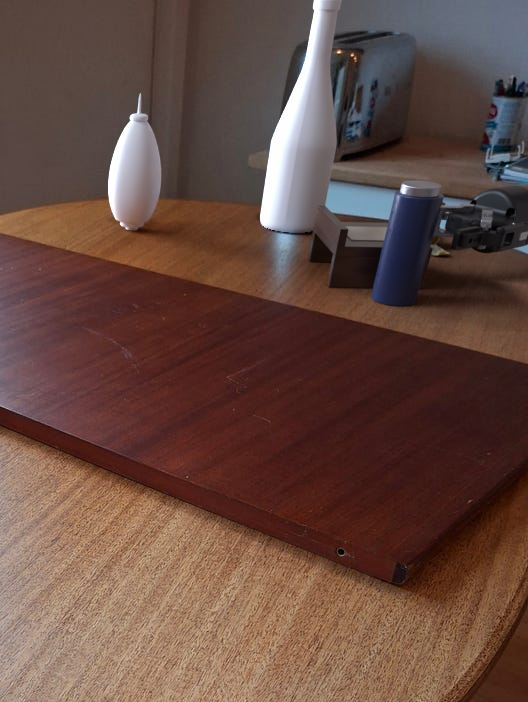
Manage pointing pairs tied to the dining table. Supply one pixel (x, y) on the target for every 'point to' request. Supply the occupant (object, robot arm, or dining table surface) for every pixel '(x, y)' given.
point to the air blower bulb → (135, 173)
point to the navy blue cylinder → (407, 243)
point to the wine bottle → (304, 136)
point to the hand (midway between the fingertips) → (426, 232)
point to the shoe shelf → (349, 249)
